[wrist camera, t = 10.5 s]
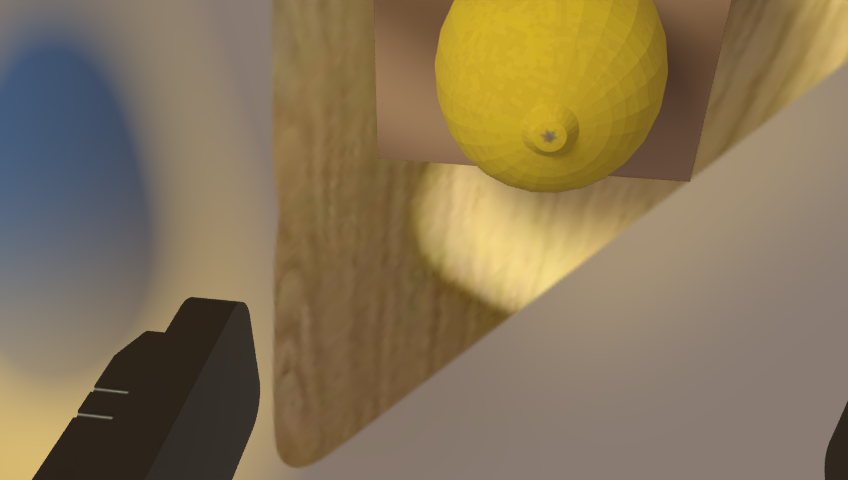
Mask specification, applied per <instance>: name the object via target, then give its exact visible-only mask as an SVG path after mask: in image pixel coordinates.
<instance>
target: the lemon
mask: <svg viewBox="0 0 848 480" xmlns="http://www.w3.org/2000/svg"><path fill="white" fill-rule="evenodd" d="M667 75H668V63H667V46H666V36H665V32H664V30H663V27H662V24H661V21H660V18H659V15H658V12H657V9H656V6H655V4H654V2H653V1H652V0H454V2H453V4H452V6H451V8H450V11H449V13H448V15H447V17H446V19H445V21H444V23H443V26H442V28H441V31H440V36H439V42H438V48H437V53H436V59H435V76H436V87H437V97H438V101H439V104H440V107H441V110H442V113H443V116H444V118H445V121H446V124H447V127H448V129H449V132H450V133H451V135H452V137H453V138H454V140H455V141H456V142H457V144H458V145H459V147H460V148H461V150H462V151H463V153H464V154H465V156H467V157H468V158H469V159H470V160H471V161H472V162H473V163H474V164H476V165H477V166H478V167H479V168H480V169H481V170H482V171H484V172H485V173H486V174H487V175H489V176H491V177H493V178H495V179H497V180H499V181H501V182H502V183H504V184H506V185H508V186H512V187H516V188H520V189H523V190H527V191H531V192H561V191H567V190H572V189H578V188H582V187H584V186H587V185H589V184H591V183H594V182H596V181H599V180H601V179H603V178H605V177H606V176H608V175H609V174H610V173H612V172H613V171H615V170H616V169H618V168H619V167H620V166H622V165H623V164H624V163H625V162H626V161H627V160H628V159H629V158H630V157H631V156H632V155H633V153H634V152H635V151H636V150H637V149H638V148H639V146H640V145H641V144H642V143H643V142H644V141H645V139H646V137H647V135H648V133H649V131H650V129H651V127H652V125H653V123H654V121H655V119H656V117H657V115H658V113H659V111H660V108H661V104H662V100H663V95H664V90H665V86H666V81H667Z"/></svg>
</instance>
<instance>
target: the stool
mask: <svg viewBox="0 0 848 480" xmlns="http://www.w3.org/2000/svg"><path fill="white" fill-rule="evenodd" d="M652 1H653V2H654V4H655V6H656V9H657V12H658V15H659V18H660V21H661V24H662V27H663V30H664V32H665V36H666V46H667V63H668V75H667V81H666V86H665V90H664V95H663V100H662V104H661V108H660V111H659V113H658V115H657V117H656V119H655V121H654V123H653V125H652V127H651V129H650V131H649V133H648V135H647V137H646V139H645V141H644V142H643V143H642V144H641V145H640V146H639V148H638V149H637V150H636V151H635V152H634V153H633V155H632V156H631V157H630V158H629V159H628V160H627V161H626V162H625V163H624V164H623V165H622V166H620V167H619V168H618V169H616V170H615V171H613V172H612V173H610V174H609V175H608V176H621V177H634V178H647V179H661V180H674V181H688V182H690V179H691V174H692V170H693V166H694V161H695V157H696V153H697V148H698V144H699V140H700V135H701V131H702V127H703V122H704V118H705V114H706V109H707V105H708V101H709V96H710V92H711V88H712V83H713V79H714V75H715V70H716V66H717V62H718V57H719V53H720V49H721V44H722V40H723V36H724V31H725V27H726V23H727V18H728V14H729V10H730V6H731V1H732V0H652ZM453 2H454V0H374V25H375V64H376V103H377V142H378V158H379V159H393V160H406V161H419V162H433V163H446V164H460V165H473V166H477V165H476V164H474V163H473V162H472V161H471V160H470V159H469V158H468V157H467V156H465V154H464V153H463V151H462V150H461V148H460V147H459V145H458V144H457V142H456V141H455V140H454V138H453V137H452V135H451V133H450V132H449V129H448V127H447V124H446V121H445V118H444V116H443V113H442V110H441V107H440V104H439V101H438V97H437V87H436V76H435V59H436V53H437V48H438V42H439V36H440V31H441V28H442V26H443V23H444V21H445V19H446V17H447V15H448V13H449V11H450V8H451V6H452V4H453Z"/></svg>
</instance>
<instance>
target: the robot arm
mask: <svg viewBox="0 0 848 480" xmlns="http://www.w3.org/2000/svg"><path fill="white" fill-rule="evenodd" d="M94 387H95V388H94V391H93V392H90V393H89V395H88V396H87V398H86V399H85V401H84V402H83V404H82V405H81V407H80V408H79V410H78V415H77V417H76V418H73V419H72V420H71V422H70V423H69V425H68V426H67V428H66V429H65V431H64V432H63V434H62V435H61V437H60V438H59V440H58V441H57V443H56V444H55V446H54V447H53V449H52V450H51V452H50V453H49V455H48V456H47V458H46V459H45V461H44V462H43V464H42V465H41V467H40V468H39V470H38V471H37V473H36V474H35V476H34V477H33V479H32V480H232V479H233V476H234V473H235V471H236V469H237V466H238V464H239V461H240V459H241V456H242V454H243V452H244V449H245V447H246V444H247V442H248V440H249V437H250V435H251V432H252V430H253V427H254V424H255V421H256V417H257V413H258V407H259V399H260V381H259V374H258V368H257V361H256V354H255V347H254V341H253V334H252V327H251V321H250V314H249V310H248V307H247V305H246V304H245V303H244V302H237V301H227V300H216V299H206V298H195V297H190V298H188V299H186V300H185V301H184V303H183V304H182V305H181V307H180V309H179V310H178V312H177V314H176V315H175V317H174V319H173V320H172V322H171V323H170V325H169V327H168V328H167V330H166V332H165V333H163V332H154V331H146V332H144V333H143V334H142V335H140V336H139V337H138V338H136V339H135V340H134V341H133V342H131V343H130V344H129V345H127V346H126V347H125V348H124V349H122V350H121V351H120V352H118V353H117V354H116V355H114V357H113V359H112V360H111V362H110V363H109V365H108V366H107V368H106V369H105V371H104V372H103V374H102V375H101V376H100V378H99V380H98V381H97V383H96V384H95V386H94ZM825 480H848V402H847V404H846V407H845V409H844V411H843V413H842V415H841V418H840V420H839V422H838V424H837V427H836V429H835V431H834V433H833V436H832V438H831V440H830V442H829V445H828V448H827V452H826V458H825Z"/></svg>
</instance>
